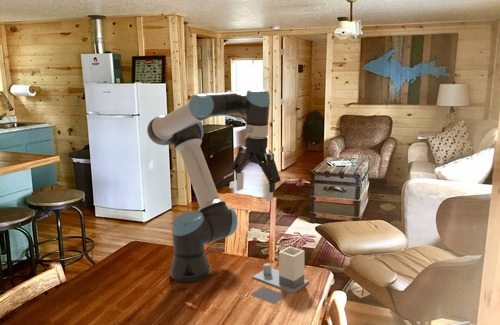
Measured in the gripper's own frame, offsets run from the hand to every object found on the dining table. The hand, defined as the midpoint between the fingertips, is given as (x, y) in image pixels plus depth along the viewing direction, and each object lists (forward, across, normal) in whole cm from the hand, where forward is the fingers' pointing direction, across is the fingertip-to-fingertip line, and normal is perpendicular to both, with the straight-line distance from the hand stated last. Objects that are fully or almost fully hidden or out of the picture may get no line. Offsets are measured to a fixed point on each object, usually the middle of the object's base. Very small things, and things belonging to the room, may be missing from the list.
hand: (254, 194), depth 146 cm
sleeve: (+30, +16, +4) cm, 34 cm away
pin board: (+32, +11, +4) cm, 34 cm away
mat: (+31, +14, -7) cm, 35 cm away
